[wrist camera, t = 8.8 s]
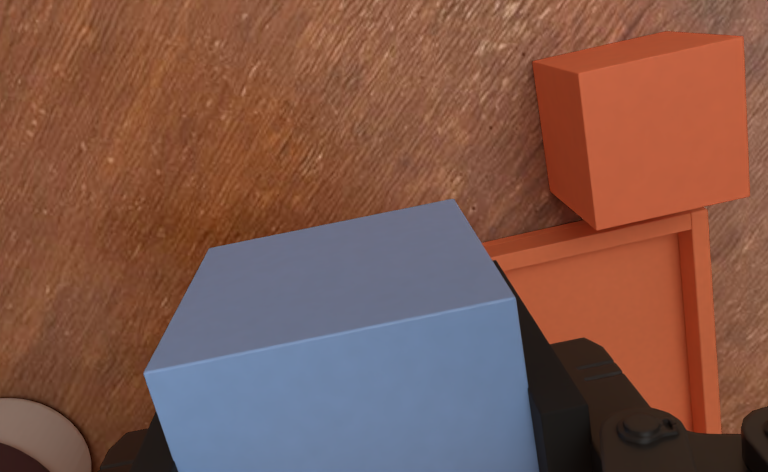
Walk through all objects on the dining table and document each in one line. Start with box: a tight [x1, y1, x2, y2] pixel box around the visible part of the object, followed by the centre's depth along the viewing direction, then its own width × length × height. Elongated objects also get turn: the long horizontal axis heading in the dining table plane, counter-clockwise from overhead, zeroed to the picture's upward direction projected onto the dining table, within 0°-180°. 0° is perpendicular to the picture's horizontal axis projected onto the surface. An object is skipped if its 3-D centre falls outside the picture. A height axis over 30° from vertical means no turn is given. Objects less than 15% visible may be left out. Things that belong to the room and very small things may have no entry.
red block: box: [532, 31, 750, 230], centre depth 28 cm, size 6×6×6 cm
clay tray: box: [482, 207, 722, 434], centre depth 34 cm, size 17×14×2 cm
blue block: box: [144, 199, 539, 472], centre depth 15 cm, size 6×6×6 cm
